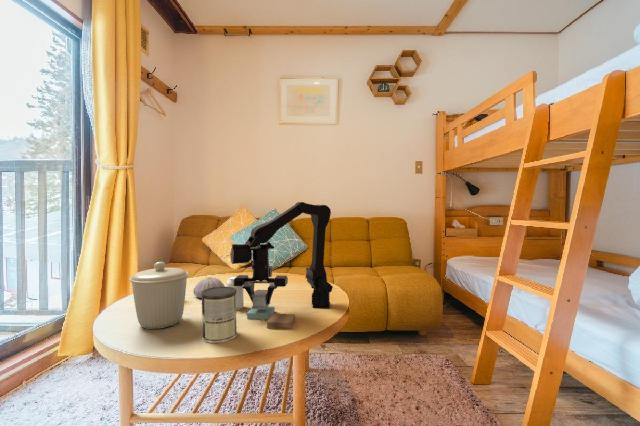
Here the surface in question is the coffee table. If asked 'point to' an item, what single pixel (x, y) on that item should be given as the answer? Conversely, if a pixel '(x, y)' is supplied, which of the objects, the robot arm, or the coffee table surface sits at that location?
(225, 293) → the coffee can
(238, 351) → the coffee table surface
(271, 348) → the coffee table surface
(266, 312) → the stand
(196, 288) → the sea urchin shell
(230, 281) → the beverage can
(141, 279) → the canister
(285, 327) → the brown flat square block
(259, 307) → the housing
